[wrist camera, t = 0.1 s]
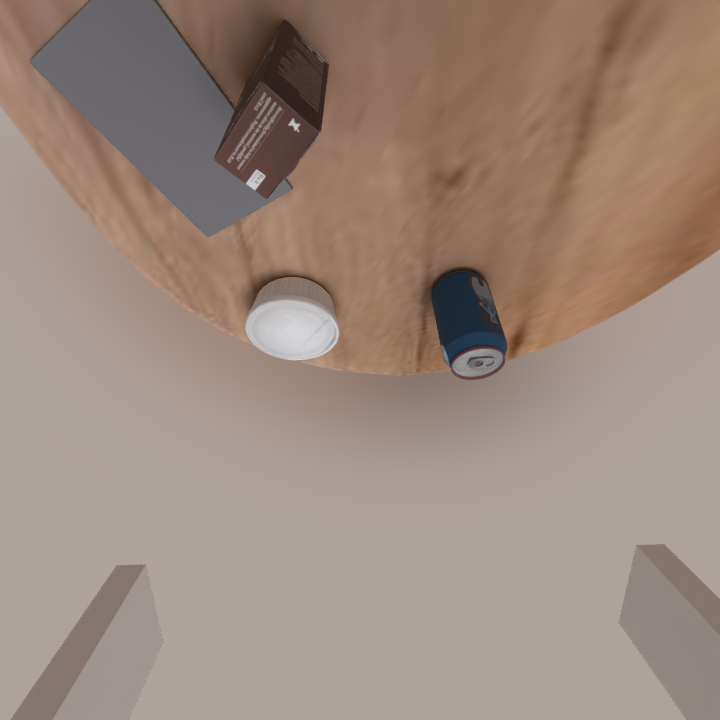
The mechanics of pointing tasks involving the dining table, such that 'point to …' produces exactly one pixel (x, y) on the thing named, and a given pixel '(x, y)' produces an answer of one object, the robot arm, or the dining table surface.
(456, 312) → the soda can
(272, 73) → the box
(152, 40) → the mat
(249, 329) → the ramekin
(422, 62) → the dining table surface
